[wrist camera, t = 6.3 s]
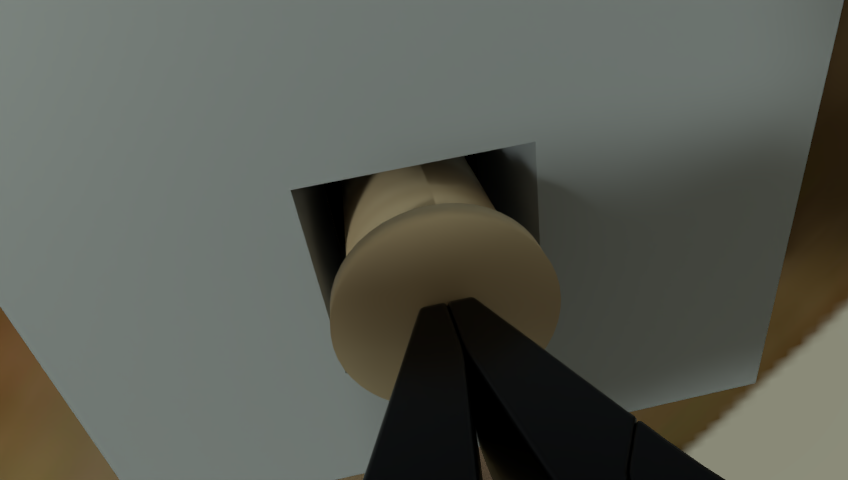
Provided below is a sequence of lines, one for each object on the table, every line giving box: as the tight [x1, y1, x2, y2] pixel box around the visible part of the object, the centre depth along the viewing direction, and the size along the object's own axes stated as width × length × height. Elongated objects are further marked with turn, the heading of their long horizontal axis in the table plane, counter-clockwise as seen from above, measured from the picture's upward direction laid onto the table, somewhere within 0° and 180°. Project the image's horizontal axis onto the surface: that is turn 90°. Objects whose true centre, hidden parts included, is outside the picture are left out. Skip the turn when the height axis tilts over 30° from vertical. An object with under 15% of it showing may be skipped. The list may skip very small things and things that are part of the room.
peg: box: [330, 156, 561, 400], centre depth 11 cm, size 4×4×6 cm
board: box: [0, 0, 844, 480], centre depth 10 cm, size 18×14×5 cm
